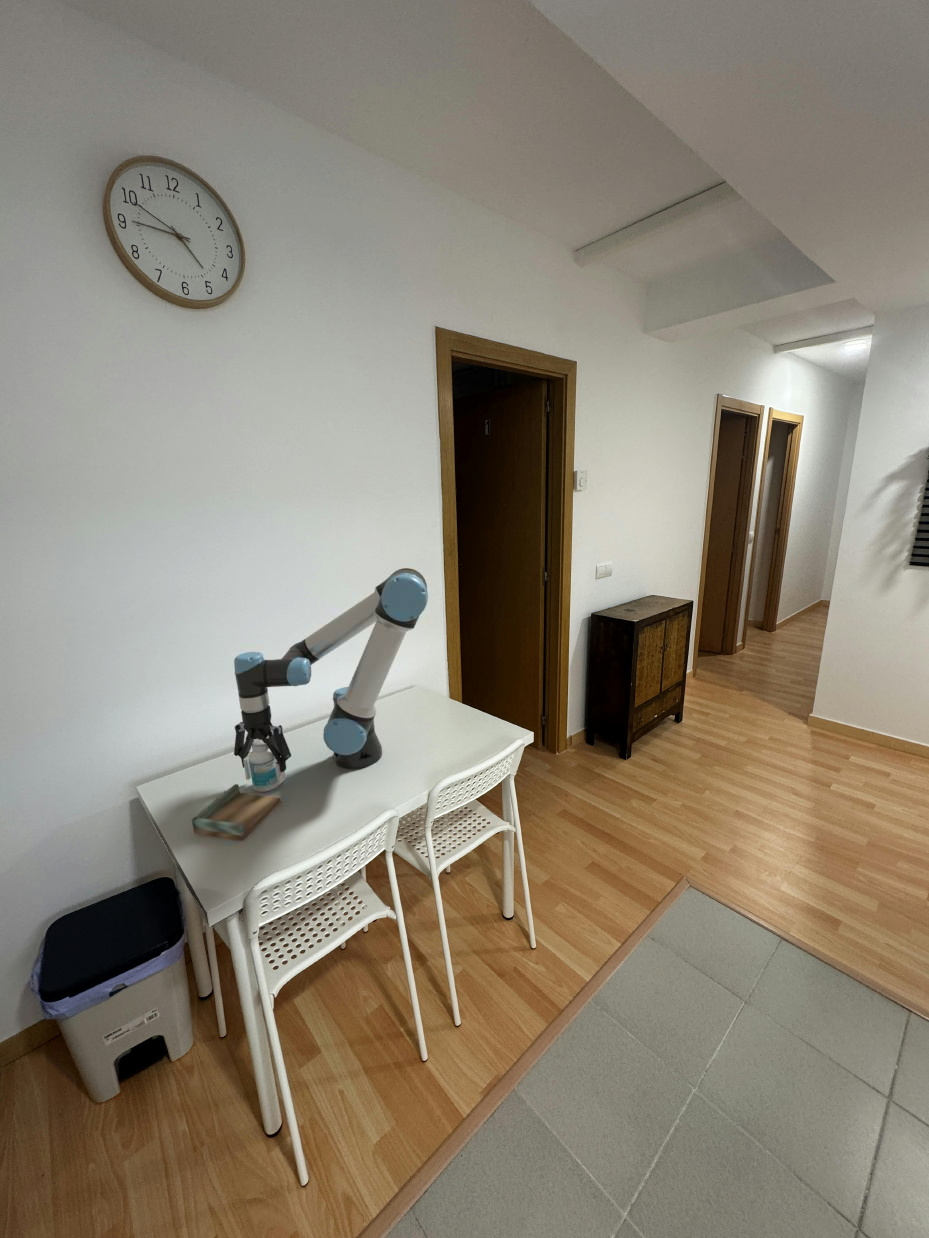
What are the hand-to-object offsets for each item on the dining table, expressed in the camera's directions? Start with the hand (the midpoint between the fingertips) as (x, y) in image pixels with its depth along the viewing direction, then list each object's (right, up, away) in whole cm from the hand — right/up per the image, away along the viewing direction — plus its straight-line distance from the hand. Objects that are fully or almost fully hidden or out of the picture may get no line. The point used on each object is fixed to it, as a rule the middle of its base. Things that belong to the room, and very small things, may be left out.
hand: (266, 778), depth 144 cm
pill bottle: (0, -2, +1) cm, 2 cm away
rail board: (-2, -6, -14) cm, 15 cm away
